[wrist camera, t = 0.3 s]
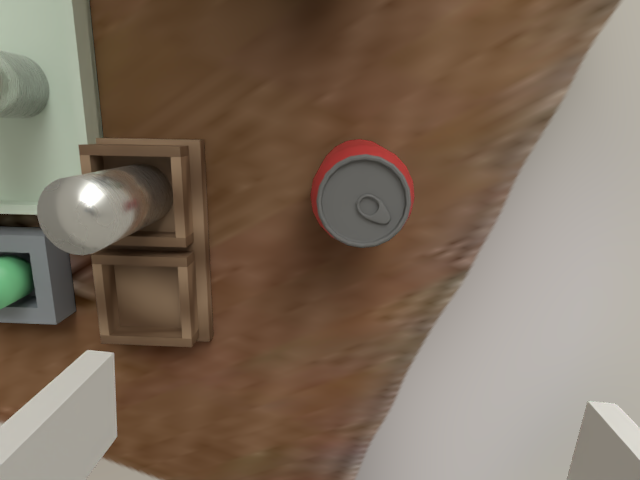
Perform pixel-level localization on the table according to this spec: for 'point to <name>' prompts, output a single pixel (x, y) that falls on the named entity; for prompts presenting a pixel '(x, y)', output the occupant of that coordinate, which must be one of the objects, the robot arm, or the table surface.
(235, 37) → the table surface
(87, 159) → the tray
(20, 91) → the cylinder
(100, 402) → the robot arm
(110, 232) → the cylinder
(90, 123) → the tray
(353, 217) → the beer can
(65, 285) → the grey square button housing
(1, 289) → the button
